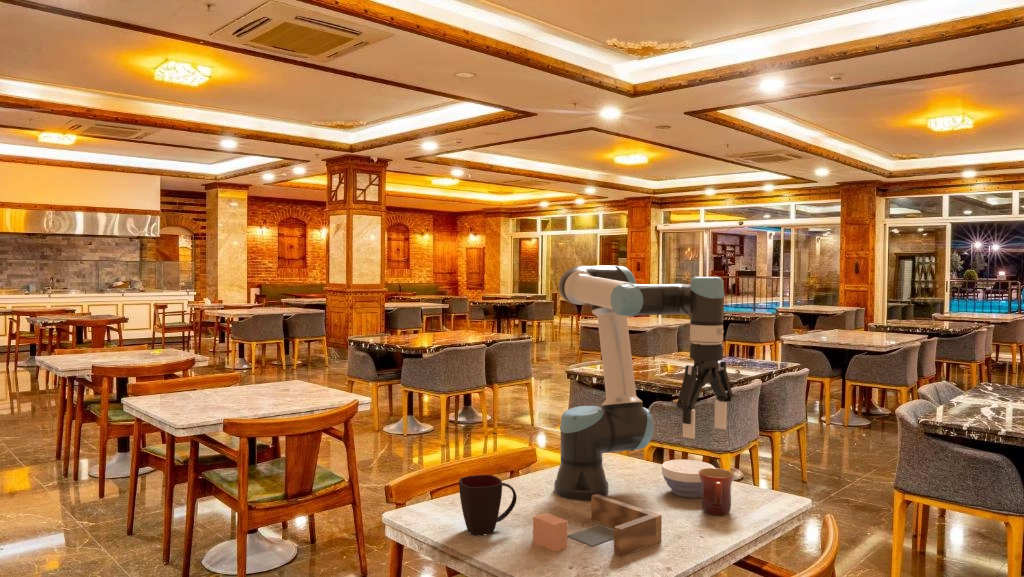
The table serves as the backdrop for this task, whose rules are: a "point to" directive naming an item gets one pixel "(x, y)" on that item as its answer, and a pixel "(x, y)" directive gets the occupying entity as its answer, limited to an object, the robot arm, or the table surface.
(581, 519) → the table surface
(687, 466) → the bowl
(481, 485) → the mug
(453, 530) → the table surface
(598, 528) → the pad
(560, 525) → the block
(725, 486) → the mug
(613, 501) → the corner walls
